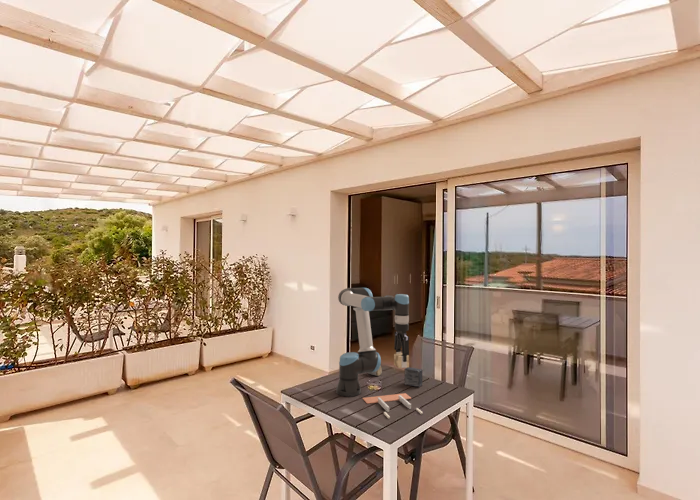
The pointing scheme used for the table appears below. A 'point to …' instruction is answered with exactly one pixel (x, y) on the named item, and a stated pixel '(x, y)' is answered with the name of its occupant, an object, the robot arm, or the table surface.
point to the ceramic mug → (376, 372)
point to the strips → (389, 416)
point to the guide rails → (388, 406)
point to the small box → (413, 377)
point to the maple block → (399, 360)
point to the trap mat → (386, 398)
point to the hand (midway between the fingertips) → (401, 365)
